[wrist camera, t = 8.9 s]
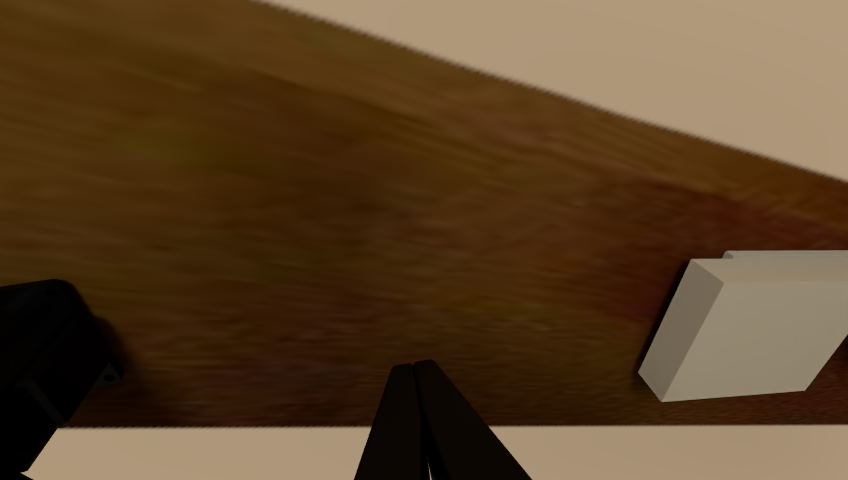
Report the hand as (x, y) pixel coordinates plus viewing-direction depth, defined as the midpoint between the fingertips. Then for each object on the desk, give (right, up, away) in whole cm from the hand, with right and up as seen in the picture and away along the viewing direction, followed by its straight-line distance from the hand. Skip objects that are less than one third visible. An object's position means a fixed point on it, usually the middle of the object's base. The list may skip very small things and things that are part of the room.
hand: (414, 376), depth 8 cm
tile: (+15, -3, +16) cm, 22 cm away
